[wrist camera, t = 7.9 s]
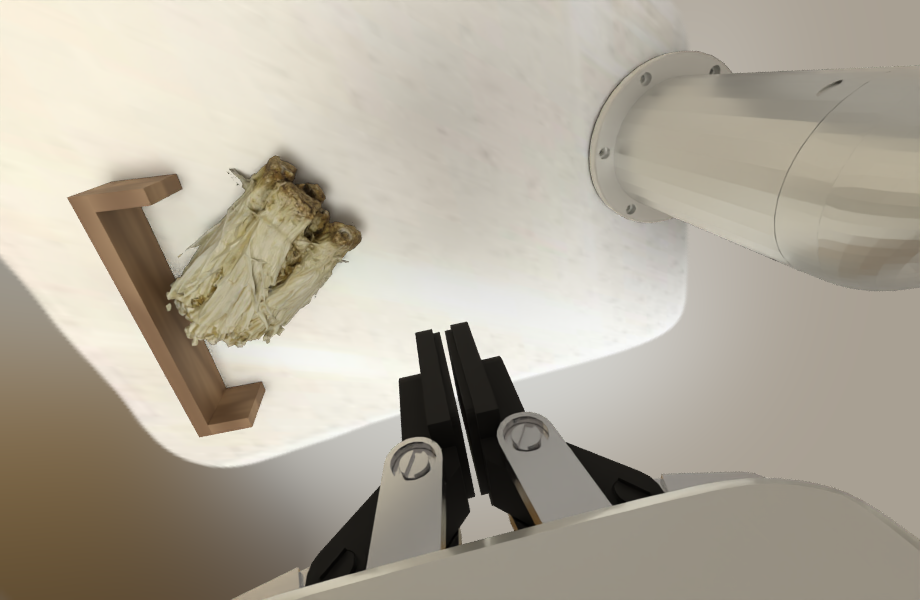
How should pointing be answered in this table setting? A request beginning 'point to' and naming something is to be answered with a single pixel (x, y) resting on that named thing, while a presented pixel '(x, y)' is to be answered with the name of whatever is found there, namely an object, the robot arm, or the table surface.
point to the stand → (160, 301)
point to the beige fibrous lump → (260, 260)
